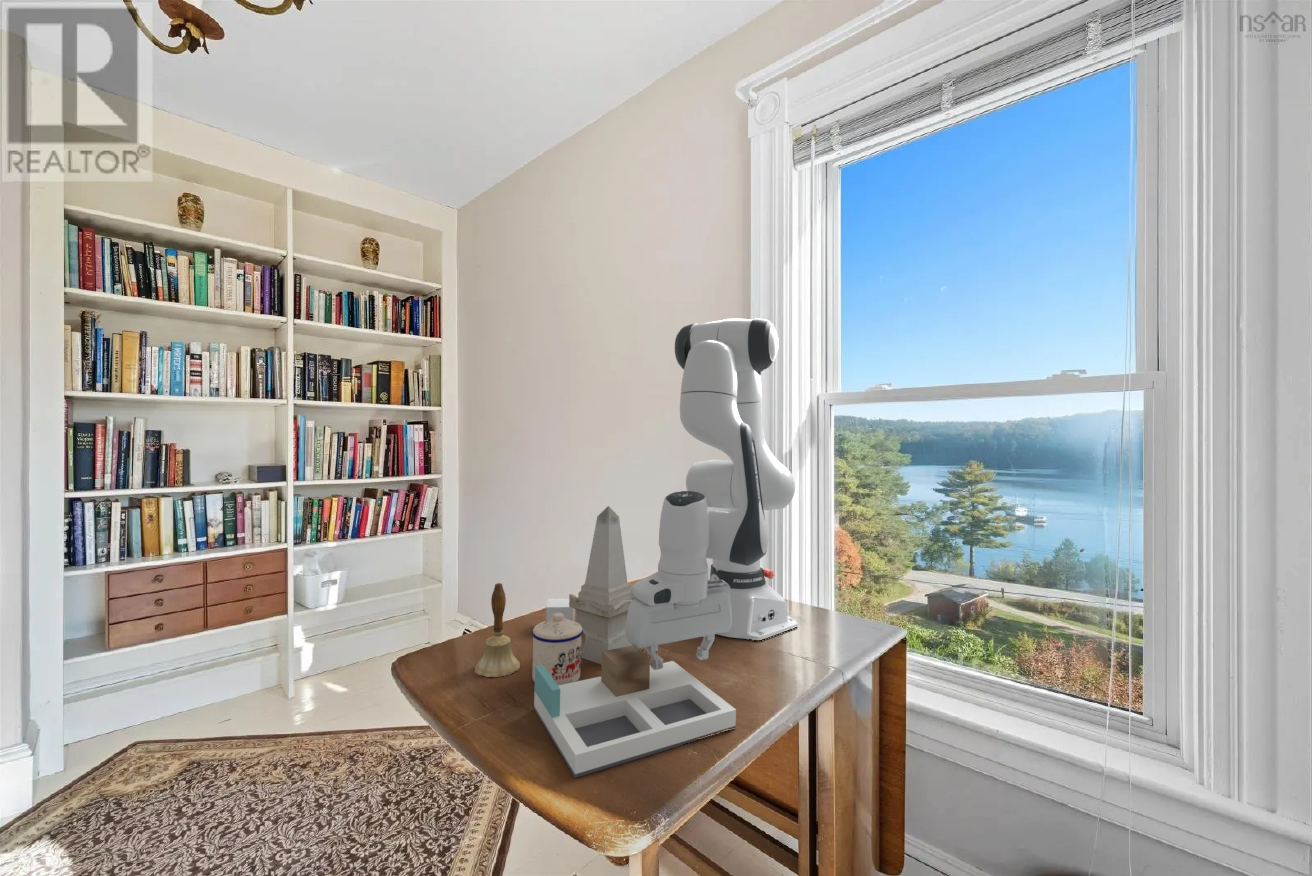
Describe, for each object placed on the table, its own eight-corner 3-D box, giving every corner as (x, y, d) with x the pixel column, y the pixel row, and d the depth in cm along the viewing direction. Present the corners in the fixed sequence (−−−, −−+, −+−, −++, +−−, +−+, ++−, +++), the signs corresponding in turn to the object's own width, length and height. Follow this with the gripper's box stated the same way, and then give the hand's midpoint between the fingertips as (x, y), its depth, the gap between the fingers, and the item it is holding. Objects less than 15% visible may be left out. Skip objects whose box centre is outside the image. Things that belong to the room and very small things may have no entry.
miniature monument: (640, 650, 110) (644, 505, 109) (607, 668, 101) (612, 511, 101) (601, 638, 116) (605, 500, 115) (567, 654, 107) (571, 505, 106)
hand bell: (515, 678, 96) (517, 590, 96) (468, 678, 95) (470, 590, 95) (523, 658, 104) (525, 577, 104) (480, 658, 104) (482, 577, 104)
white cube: (547, 624, 123) (548, 598, 123) (574, 624, 124) (574, 598, 124) (545, 634, 117) (546, 607, 117) (573, 633, 118) (573, 606, 118)
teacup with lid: (555, 695, 90) (557, 627, 90) (520, 679, 96) (521, 615, 95) (602, 670, 100) (604, 609, 100) (568, 657, 105) (570, 599, 105)
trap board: (672, 677, 98) (673, 639, 98) (735, 728, 81) (736, 683, 81) (534, 709, 86) (535, 665, 85) (574, 778, 69) (576, 724, 69)
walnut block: (633, 673, 92) (633, 645, 92) (649, 688, 87) (650, 658, 87) (601, 680, 89) (601, 651, 89) (615, 696, 84) (616, 665, 84)
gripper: (720, 574, 101) (717, 646, 101) (623, 586, 91) (620, 666, 91) (740, 583, 95) (738, 659, 96) (639, 597, 86) (637, 682, 86)
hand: (680, 663), depth 93 cm, fingers open, 8 cm apart
